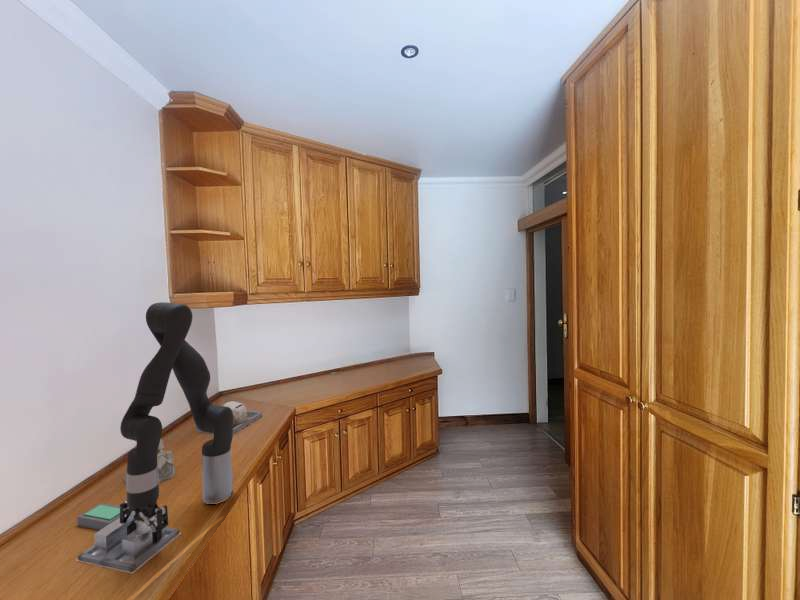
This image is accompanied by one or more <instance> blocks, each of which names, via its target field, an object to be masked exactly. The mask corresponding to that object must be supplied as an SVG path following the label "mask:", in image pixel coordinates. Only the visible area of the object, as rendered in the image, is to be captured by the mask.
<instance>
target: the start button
mask: <svg viewBox="0 0 800 600" xmlns="http://www.w3.org/2000/svg"><path fill="white" fill-rule="evenodd" d="M98 505H99V504H98ZM86 512H87V511H86ZM84 515H85V516H88V517H93V518H99V519H104V520H109V521H110V520H112V519H113V518H115V517H116V516H118V515H120V508H115V507H109V506H104V505H99V506H98V507H96V508H94V509H93V510H91V511H89V512H87V513H86V514H84Z"/></svg>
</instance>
